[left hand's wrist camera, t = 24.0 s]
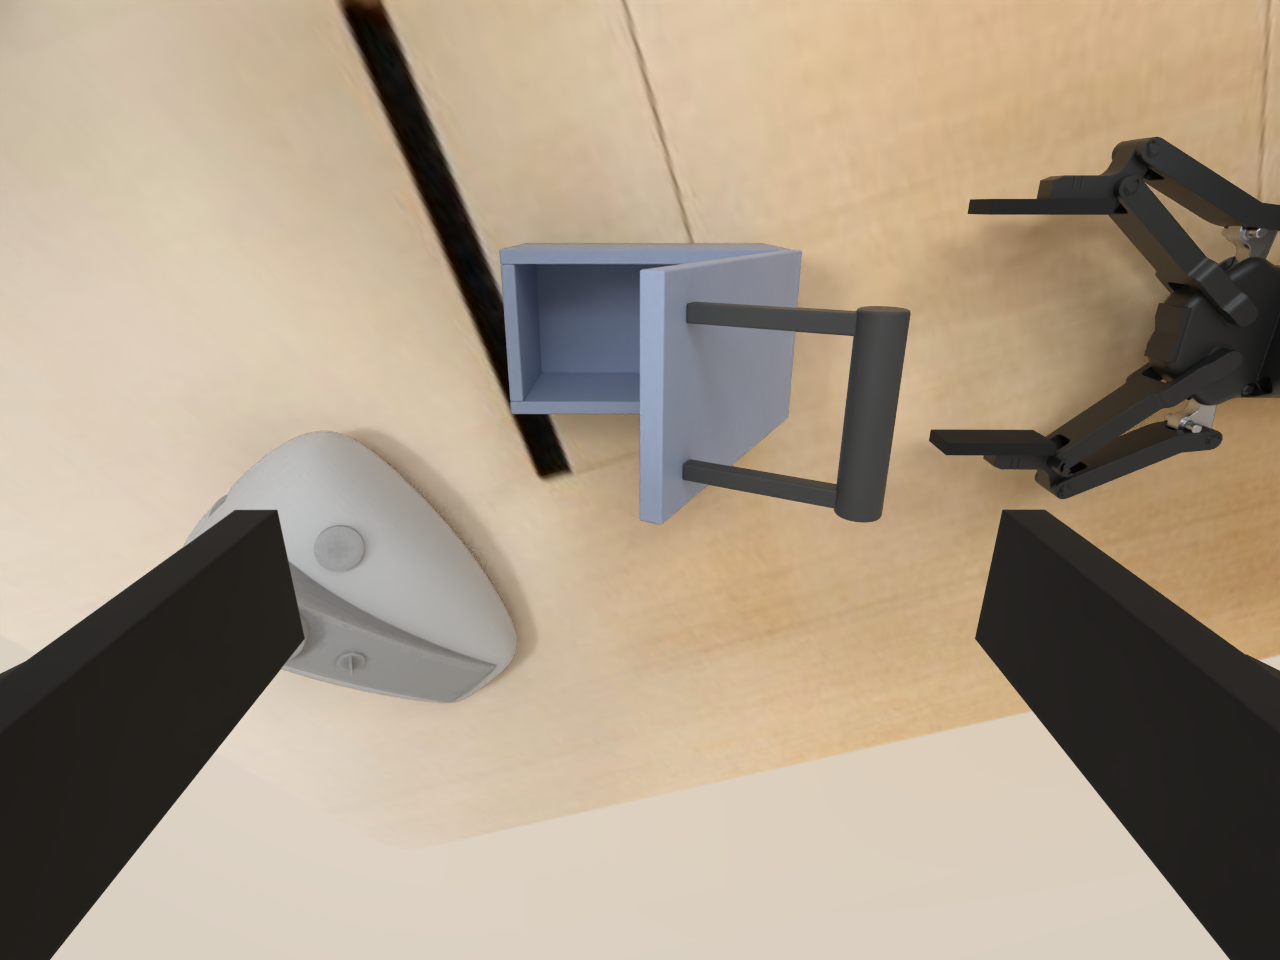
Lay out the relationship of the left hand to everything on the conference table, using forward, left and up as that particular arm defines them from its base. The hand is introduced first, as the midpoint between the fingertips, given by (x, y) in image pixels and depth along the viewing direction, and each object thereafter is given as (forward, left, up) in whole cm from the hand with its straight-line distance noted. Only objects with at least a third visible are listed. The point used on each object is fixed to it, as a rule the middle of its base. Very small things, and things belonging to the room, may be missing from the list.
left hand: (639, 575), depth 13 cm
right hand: (+18, +6, -29) cm, 34 cm away
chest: (0, 0, -36) cm, 36 cm away
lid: (+4, +1, -20) cm, 20 cm away
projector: (-12, -24, -36) cm, 45 cm away
